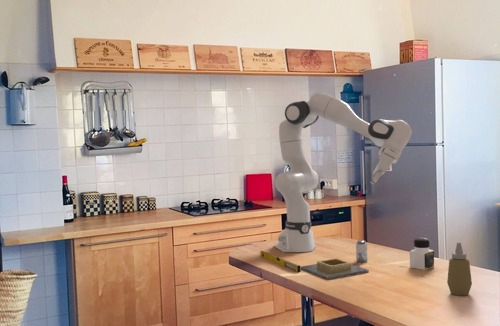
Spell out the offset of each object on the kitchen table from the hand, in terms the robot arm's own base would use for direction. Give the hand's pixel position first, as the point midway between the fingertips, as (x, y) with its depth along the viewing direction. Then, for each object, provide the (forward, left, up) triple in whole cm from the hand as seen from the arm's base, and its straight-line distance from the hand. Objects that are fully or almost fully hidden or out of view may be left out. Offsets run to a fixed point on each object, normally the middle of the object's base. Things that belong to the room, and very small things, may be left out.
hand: (373, 182), depth 244 cm
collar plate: (+4, -24, -35) cm, 42 cm away
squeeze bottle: (+54, -6, -35) cm, 64 cm away
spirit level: (-19, -37, -35) cm, 55 cm away
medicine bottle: (+20, +9, -35) cm, 41 cm away
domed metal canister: (-2, -5, -35) cm, 35 cm away
